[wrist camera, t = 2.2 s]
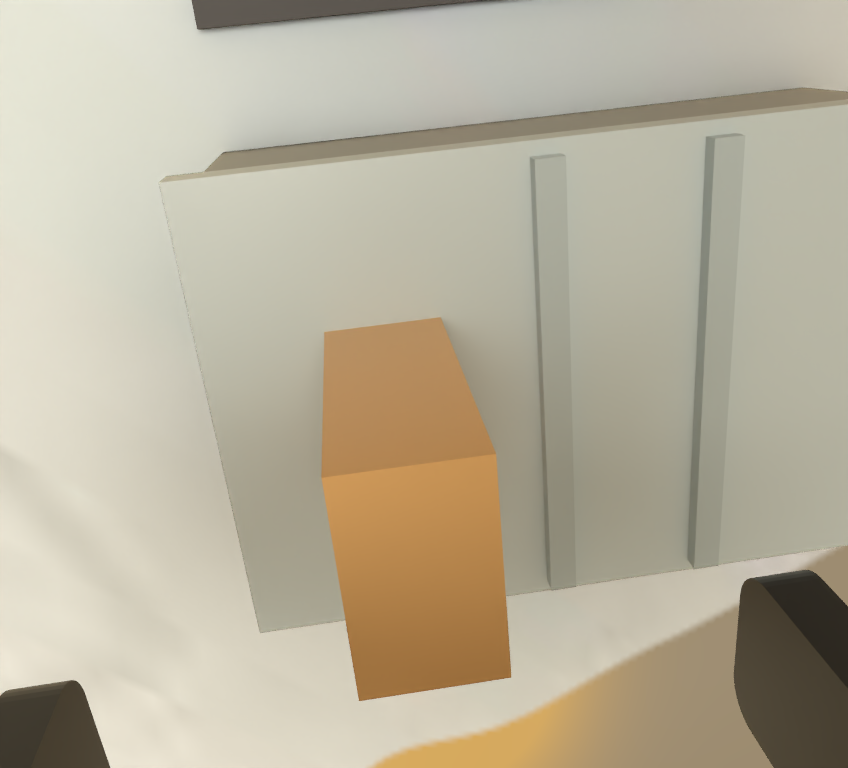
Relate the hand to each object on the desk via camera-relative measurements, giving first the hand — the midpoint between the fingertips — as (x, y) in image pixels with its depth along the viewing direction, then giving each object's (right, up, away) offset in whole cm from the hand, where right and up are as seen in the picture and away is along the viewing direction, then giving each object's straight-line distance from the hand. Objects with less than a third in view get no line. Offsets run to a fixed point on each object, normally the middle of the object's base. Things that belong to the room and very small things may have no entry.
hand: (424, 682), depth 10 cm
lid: (+4, +4, +9) cm, 11 cm away
